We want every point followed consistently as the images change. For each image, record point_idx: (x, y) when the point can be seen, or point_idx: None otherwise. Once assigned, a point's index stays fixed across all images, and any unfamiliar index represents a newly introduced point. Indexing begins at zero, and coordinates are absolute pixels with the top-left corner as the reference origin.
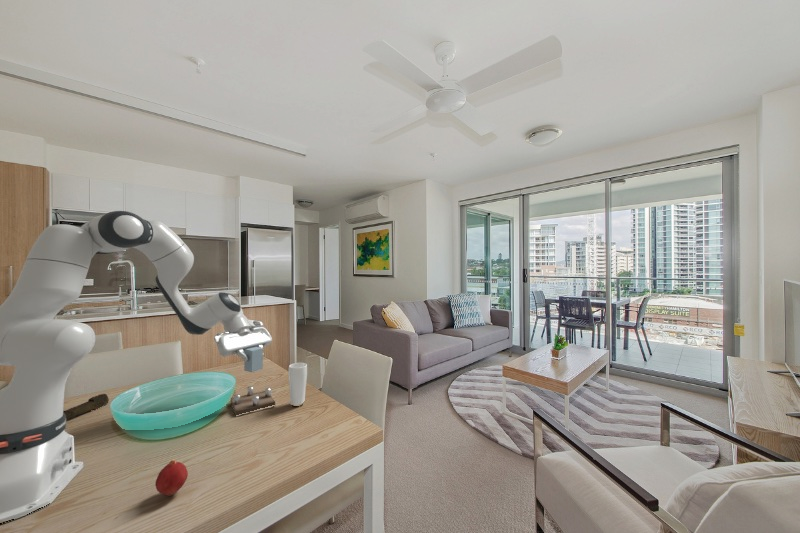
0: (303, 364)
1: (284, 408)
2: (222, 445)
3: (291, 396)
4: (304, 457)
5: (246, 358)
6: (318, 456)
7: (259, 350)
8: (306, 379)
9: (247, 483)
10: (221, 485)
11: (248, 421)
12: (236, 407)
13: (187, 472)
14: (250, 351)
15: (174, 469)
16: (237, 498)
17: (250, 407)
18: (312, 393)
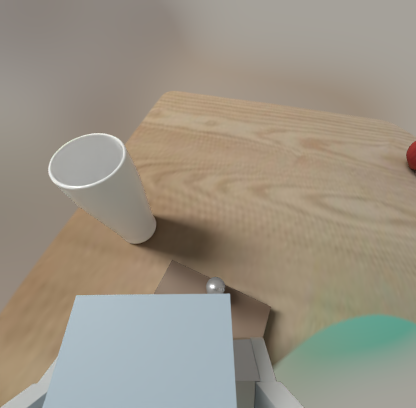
0: (57, 164)
1: (169, 237)
2: (333, 214)
3: (150, 217)
4: (260, 114)
5: (262, 341)
6: (248, 106)
7: (133, 295)
8: (103, 174)
9: (330, 126)
10: (356, 142)
11: (258, 254)
12: (259, 332)
13: (413, 144)
14: (230, 335)
15: None
16: (346, 118)
17: (233, 289)
18: (64, 245)
